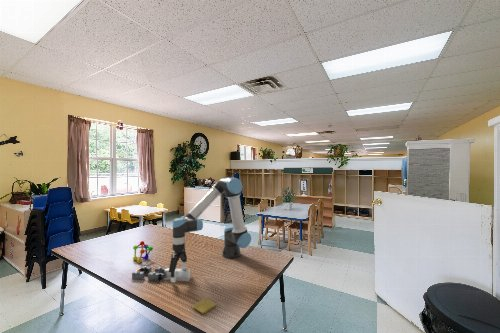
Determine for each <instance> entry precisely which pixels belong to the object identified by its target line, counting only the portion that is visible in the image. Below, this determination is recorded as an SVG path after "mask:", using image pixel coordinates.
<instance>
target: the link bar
mask: <svg viewBox="0 0 500 333" xmlns="http://www.w3.org/2000/svg"><path fill="white" fill-rule="evenodd" d="M165 268H166V269H165V270H164V281H165V280H166V281H169V280H170V281H171V272H169V267H165ZM175 271H176V282H177V281H178V282H179V281H180V282H189V281H190V280H191V269H189V268H188V269H187V268H185V269H181V268H177V267H176V269H175Z"/></svg>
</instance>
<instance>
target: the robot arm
mask: <svg viewBox="0 0 500 333" xmlns="http://www.w3.org/2000/svg"><path fill="white" fill-rule="evenodd" d="M242 183H243V182H242V181H241V179H239V178H237V177H229V176H228V177H227V176H226V177H221V178H220V179H218V180H217V181H216V182H215V183H214V184H213V185H212V186H211V187H210V188H211V189H210V190H209V191H208V192H207V193H206V194H205V195H204V196H203V197H202V198H201V199H200V201H198V202H197V203H196V204H195V205H194V207H192V208H191V209H190V211H189V212H188V213H187V214H186V215H182V216H181V217H178V218H177V217H176V218H174V219H173V220H172V238H171V239H172V248H171V250H172V251H173V252H174V253H172V254H171V257H170V258H171V259H170V264H169V266H168V268H169V272H171V280H170V283H176V282H177V280H176V271H175V269H176V268H177V266H178V262H179V261H181V262H180V269H186V263H187V262H188V256H187V252H186V243H185V242H186V233H192V232H199V231H202V230H203V228H204V223H203V220H202V219H200V218H199V217H200V216H201V215H202V214H203V213H204V212H205V211H206V209H208V208H209V206H210V205H211V204H213V202H214V201H215V200H216V199H217V198H218V197H220V196H222V195H223V194H225V198H227V200H228V206H229V211H230V212H229V213H230V216H231V222H232V225H229V226H226V227H225V228H224V230H223V234H224V236H223V237H224V240H223V242H224V244H223V245H224V246H223V248H222V252H221V255H222V257H223V258H224V259H237V258H240V256H241V255H242V252H241V249H246V248H248V247H249V245H250V244H251V243H252V242H251V241H252V235H251V234H250V233H249V232H248V227H247V226H245V222H244V216H243V210H242V204H241V197H240V196H241V195H242V193H241V192H242V191H243V190H242V189H243V184H242Z"/></svg>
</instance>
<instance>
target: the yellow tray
mask: <svg viewBox="0 0 500 333" xmlns="http://www.w3.org/2000/svg"><path fill="white" fill-rule="evenodd" d="M216 305H217V303H216V302H214V301H212V300H211V299H210V298H209V299H208V298H207V297H204V298H202V299H201V300H200V301H198V302H195V303H194V304H192V308H193V309H195V310H197V311H198V312H199V313H201V314H202V315H204V314H206V313H207V312H209V311H211V310H212V309H214V307H216Z"/></svg>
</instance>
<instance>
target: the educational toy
mask: <svg viewBox="0 0 500 333" xmlns="http://www.w3.org/2000/svg"><path fill="white" fill-rule="evenodd" d="M132 249H133V251H134V256H133V258H132V260H133V261H134V260H135V261H136V262H137V264H141V263H142V261H143V260H148V259H149V255H150V252H152V251H153V250H154V248H153V246H149V244H145V242H144V241H143V240H142V241H140V242H139V244H137V245H134V246H133V247H132ZM137 249H140V250H139V253H140V256H139V257H138V256H137ZM143 254H145V255H144V256H143Z"/></svg>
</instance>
